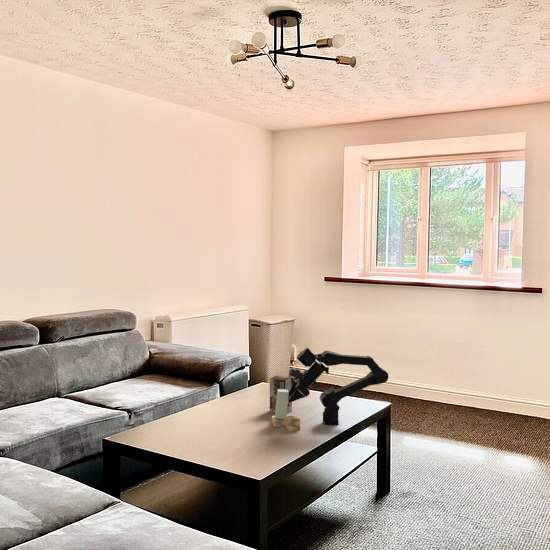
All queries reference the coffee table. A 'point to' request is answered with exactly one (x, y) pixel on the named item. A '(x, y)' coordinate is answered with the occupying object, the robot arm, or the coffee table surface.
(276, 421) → the maple slab
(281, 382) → the coffee box
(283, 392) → the sage block
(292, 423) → the oak cube
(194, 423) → the coffee table surface
